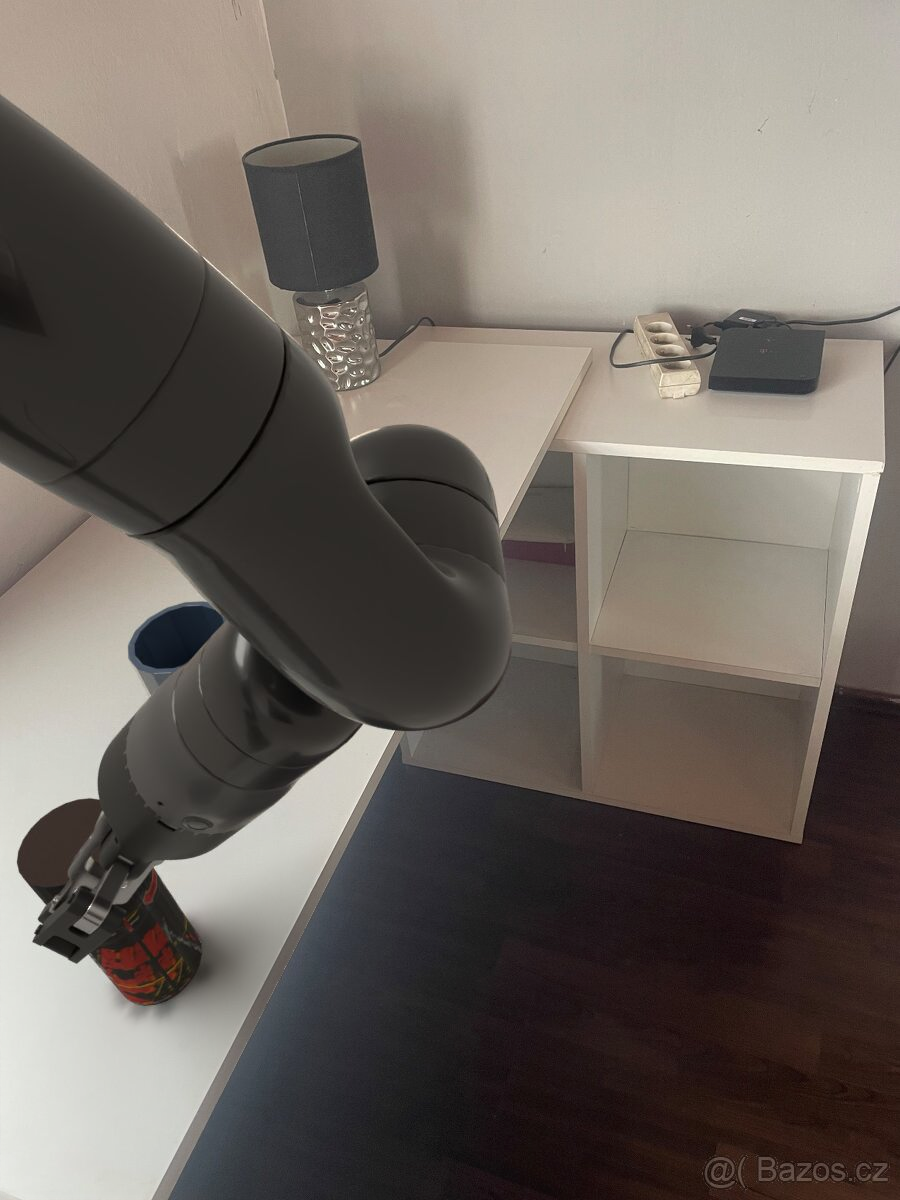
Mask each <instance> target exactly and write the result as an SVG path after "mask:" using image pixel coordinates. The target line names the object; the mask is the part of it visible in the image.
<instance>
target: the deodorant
mask: <svg viewBox="0 0 900 1200" xmlns="http://www.w3.org/2000/svg"><path fill="white" fill-rule="evenodd" d="M102 811H103V810H102V807H101V804H100V800H99V798H92V797H87V798H78V799H75V800H71V801H67V802H65V803H63V804H61V805H59V806H57V807H55V808H52V809H51V810H50V811H48V812H47V813H45V814H44V815H43V816H42V817H40V818H39V819H38V820H37V821H36V822H35V823H34V825H32V826H31V828H30V829H29V830H28V832H27V833H26V834H25V835H24V837H23V839H22V841H21V843H20V846H19V847H18V850H17V856H16V857H17V858H16V866H17V871H18V873H19V875H20V876H21V877H22V879H23V880H24V881H25V882H26V883H27V885H28V886H29V887H30V888H31V889H32V891H33V892H34V893H35V894H36V896H37V897H38V898H39V899H40V900H41V901H42V902H43V903H44V904H45V906H46V905H47V904H48V903H49V902H51V901H52V900H53V898H54V897H55V895H56V894H57V895H58V894H59V893H60V892H61V891H62V889H63V888H64V887H65V885H66V884H67V883H68V881H69V880H70V878H69V877H68V870H69V868H70V865H71V863H72V861H73V859H74V857H75V855H76V854H77V853H78V851H79V850H80V849H81V847H82V846H83V845H84V843H85V842H86V841H87V839H88V838H89V837H90V835H91V834H92V833H93V831H94V830H95V825H96V823H97V820H98V818H99V816H100V814H101V812H102ZM100 846H101V843H100V845H99V846H98V847H97V849H96V850H95V851H94V853H93V854H92V855H91V857H92V859H93V860H94V861H96V862H98V863H99V853H100ZM81 888H83V889H85V890H87V891H89V892H91V891H92V889H90V888H88V887H86V886H81ZM115 905H116V906H118V907H120V908H121V909H123V910H125V911H126V915H125V917H124V919H125V921H124V923H123V925H122V926H121V928H120V929H119V930H118V929H117V930H116V932H115V933H114V934H113V935H112V936H111V937H109V938H108V939H107V940H106V941H104V942H103V943H102V944H101V945H99V946H98V947H97V948H96V949H95V950H93V951H92V952H91V953H90V954H88V955H87V956H89V957H90V959H91V960H92V961H93V962H94V963H95V965H97V967H98V968H100V970H101V971H102V972H103V973H104V975H105V976H106V977H107V978H108V979H109V981H110V982H111V983H112V984H113V986H114V987H116V989H117V990H118V991H119V993H121V994H122V996H123V997H124V998H125V999H127V1001H130V1003H132V1004H135V1005H140V1006H154V1005H155V1006H156V1005H158V1004H161V1003H163V1002H167V1001H168V1000H170V999H172V998H174V997H175V996H177V995H178V994H179V993H181V992H182V991H183V990H184V989H185V988H186V987H188V986H189V983H190V982H191V981H192V980H193V979H194V977H195V976H196V973H197V971H198V969H199V967H200V965H201V960H202V955H203V948H202V947H203V946H202V941H201V939H200V935H199V934H198V932H197V931H196V929H195V928H194V927H193V925H192V923H191V921H190V920H189V919H188V918H187V916H186V914H185V913H184V911H183V909H182V908H181V907H180V905H179V904H178V902H177V901H176V899H175V897H174V896H173V895H172V893H171V892H170V890H169V889H168V887H167V885H166V883H164V881H163V880H162V878H161V877H160V875H159V874H158V872H157V870H156V869H155V866H154V867H153V869H152V870H151V871H150V873H149V874H148V875H147V877H146V878H145V879H144V881H143V882H142V883H141V885H140V886H139V887H138V889H137V890H136V891H135V893H134V894H133V895H132V897H131V898H130V899H129V901H128V902H126V903H124V904H115Z"/></svg>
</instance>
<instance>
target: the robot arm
mask: <svg viewBox="0 0 900 1200" xmlns="http://www.w3.org/2000/svg"><path fill="white" fill-rule="evenodd" d="M345 418H346V417H345V414H344V411H343V408H342V404H341V402H340V399H339V396H338V393H337V391H336V389H335V387H334V385H333V384H332V382H331V380H330V379H329V377H328V375H327V374H326V372H325V371H324V370H323V369H322V367H321V366H320V365H319V364H318V362H317V361H316V360H315V359H314V357H312V356H311V355H310V353H308V351H307V350H306V349H305V348H304V347H302V346H301V343H299V342H298V341H297V340H296V339H295V338H294V337H292V335H290V334H289V333H288V332H287V331H286V330H285V329H284V328H282V326H281V325H279V324H278V323H277V322H276V321H275V320H274V319H273V318H272V317H271V316H269V315H268V314H267V312H266V311H264V309H262V308H261V307H259V305H257V304H256V303H255V302H254V301H253V300H252V299H251V298H250V297H249V296H248V295H246V294H245V293H244V292H243V291H242V290H241V289H240V288H239V287H237V286H236V284H234V283H233V282H232V281H231V280H230V279H229V278H228V277H227V276H226V275H224V274H223V273H222V272H221V271H220V270H219V269H218V268H216V267H215V265H213V263H211V262H210V261H209V260H208V259H207V258H205V257H204V256H203V255H202V254H200V252H198V250H197V249H195V248H194V247H193V246H192V245H191V244H190V243H189V242H188V241H186V240H185V239H184V238H183V237H182V236H181V235H180V234H178V232H176V230H174V229H173V228H172V227H171V226H170V225H168V223H166V222H165V221H164V220H163V219H161V217H159V216H158V215H157V214H155V213H154V212H153V211H152V210H151V209H149V208H148V207H147V206H146V205H145V204H144V203H143V202H141V201H140V200H139V199H138V198H137V197H136V196H134V195H133V194H132V193H130V192H129V191H128V190H127V189H125V188H124V187H123V186H122V185H121V184H120V183H118V182H117V181H116V180H115V179H113V178H112V177H111V176H110V175H108V174H107V173H106V172H104V171H103V170H102V169H101V168H99V167H98V166H97V165H95V164H94V163H93V162H91V161H90V160H89V159H88V158H87V157H85V156H84V155H83V154H81V153H80V152H79V151H77V150H76V149H75V148H73V147H72V146H71V145H70V144H68V143H67V142H66V141H64V140H63V139H61V137H59V136H57V135H56V134H55V133H53V132H52V131H51V130H49V129H48V128H47V127H46V126H44V125H43V124H41V123H40V122H39V121H37V120H36V119H35V118H34V117H32V116H31V115H30V114H28V113H27V112H25V111H24V110H22V109H21V108H20V107H18V106H17V105H16V104H14V103H13V102H12V101H11V100H9V99H8V98H6V96H4V95H2V94H1V93H0V464H1V465H3V466H5V467H6V468H8V469H9V470H11V471H13V472H15V473H17V474H18V475H20V476H22V477H23V478H25V479H27V480H29V481H30V482H33V484H35V485H37V486H39V487H41V488H43V489H44V490H46V491H48V492H50V493H51V494H53V495H55V496H56V497H58V498H60V499H62V500H64V501H65V502H67V503H69V504H71V505H73V506H74V507H76V508H78V509H79V510H82V511H83V512H85V513H86V514H88V515H90V516H92V517H93V518H95V519H97V520H99V521H100V522H102V523H104V524H106V525H107V526H110V527H111V528H113V529H114V530H116V531H118V532H120V533H123V534H124V535H126V536H127V537H128V538H131V539H132V540H135V541H137V542H139V543H140V544H142V545H144V546H146V547H148V548H150V549H152V550H153V551H156V552H157V553H159V554H160V555H162V556H163V557H164V558H165V559H167V560H168V561H169V562H170V563H171V564H172V566H173V567H174V568H175V569H176V570H178V572H179V573H180V574H181V575H183V577H184V578H185V579H186V580H187V581H188V582H189V584H191V586H192V587H193V588H194V589H195V591H197V593H198V594H199V595H200V596H201V597H202V598H203V600H204V601H205V602H208V603H209V604H210V605H211V606H212V607H213V608H214V609H215V610H216V611H217V612H218V613H219V614H220V615H221V616H222V617H223V618H224V619H225V620H226V621H225V622H224V623H223V624H222V625H221V627H220V628H219V629H218V630H217V631H216V632H215V633H214V634H213V635H212V636H211V637H210V638H209V639H208V641H207V642H206V643H205V644H204V645H203V646H202V647H201V648H200V650H199V651H198V652H197V653H196V654H195V655H194V656H193V658H192V659H191V660H190V661H189V662H188V663H186V664H185V665H183V666H182V667H180V668H179V669H178V670H176V671H175V672H174V673H173V674H171V675H170V676H169V677H168V678H167V679H166V680H165V681H164V682H163V683H162V684H161V685H160V686H159V687H158V688H157V689H156V690H155V692H154V693H153V694H152V695H151V696H150V697H149V696H148V698H147V699H146V701H145V702H144V703H143V704H142V705H141V706H140V707H139V709H138V710H137V711H136V712H135V713H134V715H133V716H132V717H131V718H130V719H129V720H128V721H127V722H126V724H125V725H124V726H123V727H122V728H121V729H120V730H119V731H118V733H117V734H116V735H115V736H114V737H113V739H112V740H111V741H110V743H109V744H108V746H107V747H106V748H105V751H104V753H103V754H102V757H101V761H100V763H99V767H98V772H97V794H98V799H99V800H100V804H101V807H102V810H103V811H102V812H101V814H100V816H99V818H98V820H97V823H96V825H95V830H94V831H93V833H92V834H91V835H90V837H89V838H88V839H87V841H86V842H85V843H84V845H83V846H82V847H81V849H80V850H79V851H78V853H77V854H76V855H75V857H74V859H73V861H72V863H71V865H70V868H69V870H68V877H69V878H70V880H69V881H68V883H67V884H66V885H65V887H64V888H63V889H62V891H61V892H60V893H59V894H58V895H57V894H56V895H55V897H54V898H53V900H52V901H51V902H49V903H48V904H47V905H46V904H45V906H44V907H43V909H42V910H41V912H40V914H39V915H38V917H37V921H38V922H39V924H38V926H37V927H36V929H35V931H34V933H33V934H34V937H33V938H32V943H33V944H35V945H37V946H39V947H44V948H45V949H48V950H50V951H52V952H54V953H56V954H58V955H60V956H62V957H64V958H65V959H67V960H68V961H69V962H71V963H74V964H75V965H77V964H79V962H81V961H82V960H83V959H85V958H86V957H87V956H89V955H88V954H90V953H91V952H92V951H93V950H95V949H96V948H97V947H98V946H99V945H101V944H102V943H103V942H104V941H106V940H107V939H108V938H109V937H111V936H112V935H113V934H114V933H115V932H116V930H117V929H118V930H119V929H120V928H121V926H122V925H123V923H124V921H125V919H124V917H125V915H126V911H125V910H123V909H121V908H120V907H118V906H116V905H115V904H124V903H126V902H128V901H129V899H130V898H131V897H132V895H133V894H134V893H135V891H136V890H137V889H138V887H139V886H140V885H141V883H142V882H143V881H144V879H145V878H146V877H147V875H148V874H149V873H150V871H151V870H152V869H153V867H154V868H155V867H156V866H161V864H163V863H164V862H165V861H181V860H189V859H193V858H197V857H200V856H203V855H206V854H207V853H210V852H211V851H213V850H215V849H217V848H218V847H219V846H221V845H222V844H224V843H225V842H226V841H228V840H229V839H230V838H231V837H233V836H234V835H236V834H237V833H238V832H239V831H242V829H243V828H245V827H247V826H248V825H249V824H251V823H252V822H253V821H254V820H256V819H257V818H258V817H260V816H261V815H263V814H264V813H265V812H267V811H268V810H270V809H271V808H272V807H274V806H275V805H276V804H278V802H280V801H281V800H282V799H283V798H284V797H285V796H286V795H287V794H288V793H289V792H290V791H291V790H292V789H293V788H294V786H295V785H296V784H297V783H298V781H300V779H301V778H303V777H304V776H305V775H307V774H308V773H309V772H310V771H312V770H313V769H315V768H316V767H318V766H319V765H320V764H321V763H322V762H324V761H326V759H328V758H330V757H331V756H332V755H333V754H335V753H336V752H337V751H339V750H340V749H341V748H342V747H344V746H345V745H346V744H347V743H348V742H349V741H351V740H352V739H353V737H354V736H355V735H356V734H357V733H358V732H359V730H360V729H361V728H362V727H363V725H366V726H369V727H371V728H376V729H380V730H381V729H383V730H387V731H396V732H421V731H429V730H434V729H439V728H443V727H445V726H446V727H447V726H449V725H452V724H454V723H457V722H459V721H461V720H463V719H465V718H467V717H469V716H470V715H472V714H474V713H475V712H476V711H478V709H480V708H481V707H483V705H485V704H486V703H487V702H488V701H489V700H490V699H491V698H492V697H493V695H494V694H495V693H496V691H498V688H499V687H500V685H501V683H502V682H503V681H504V678H505V676H506V674H507V673H508V672H507V671H508V670H509V669H508V668H509V666H510V662H511V657H512V653H513V639H514V637H513V636H514V629H513V628H514V627H513V617H512V616H513V615H512V611H511V610H512V609H511V608H512V607H511V602H510V594H509V588H508V580H507V573H506V567H505V559H504V553H503V546H502V545H503V544H502V540H501V531H500V530H501V528H500V520H499V513H498V506H497V502H496V496H495V492H494V487H493V486H492V482H491V480H490V476H489V474H488V472H487V470H486V468H485V466H484V464H483V463H482V461H481V460H480V459H479V458H478V457H477V455H476V454H475V453H474V451H473V449H472V448H470V447H469V446H468V445H467V444H466V443H465V442H463V440H462V441H461V440H460V439H459V438H457V437H455V436H454V435H452V434H450V433H449V432H446V431H444V430H441V429H439V428H436V427H432V426H428V425H423V424H415V423H414V424H413V423H405V424H404V423H403V424H393V425H387V426H381V427H378V428H374V429H370V430H368V431H365V432H362V433H360V434H358V435H355V436H353V437H352V438H350V435H349V431H348V426H347V423H346V419H345ZM100 843H101V846H100V853H99V863H98V862H96V861H94V860H93V859H92V857H91V855H92V854H93V853H94V851H95V850H96V849H97V847H98V846H99V845H100ZM81 886H86V887H88V888H90V889H92V891H91V892H89V891H87V890H85V889H83V888H81Z"/></svg>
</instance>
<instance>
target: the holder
mask: <svg viewBox="0 0 900 1200" xmlns="http://www.w3.org/2000/svg"><path fill="white" fill-rule="evenodd" d="M225 621H226V620H225V619H224V618H223V617H222V616H221V615H220V614H219V613H218V612H217V611H216V610H215V609H214V608H213V607H212V606H211V605H210V604H209V603H208V602H207V601H206V600H199V601H198V600H197V601H184V602H180V603H177V604H174V605H171V606H168V607H165V608H163V609H161V610H160V611H157V613H155V614H153V615H151V616H149V617H148V618H147V619H146V620H145V621H144V622H143V623H141V624H140V626H138V627H137V628H136V629H135V631H134V632H133V634H132V635H131V638H130V640H129V642H128V644H127V656H128V657H127V658H128V661H129V662H130V665H131V666H132V668H133V670H134V672H135V673H136V675H137V678H138V679H139V681H140V683H141V685H142V687H143V689H144V690H145V692H146V694H147V696H148V698H149V697H150V696H151V695H152V694H153V693H154V692H155V690H156V689H157V688H158V687H159V686H160V685H161V684H162V683H163V682H164V681H165V680H166V679H167V678H168V677H169V676H170V675H171V674H173V673H174V672H175V671H176V670H178V669H179V668H180V667H182V666H183V665H185V664H186V663H188V662H189V661H190V660H191V659H192V658H193V656H194V655H195V654H196V653H197V652H198V651H199V650H200V648H201V647H202V646H203V645H204V644H205V643H206V642H207V641H208V639H209V638H210V637H211V636H212V635H213V634H214V633H215V632H216V631H217V630H218V629H219V628H220V627H221V625H222V624H223V623H224V622H225Z"/></svg>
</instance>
